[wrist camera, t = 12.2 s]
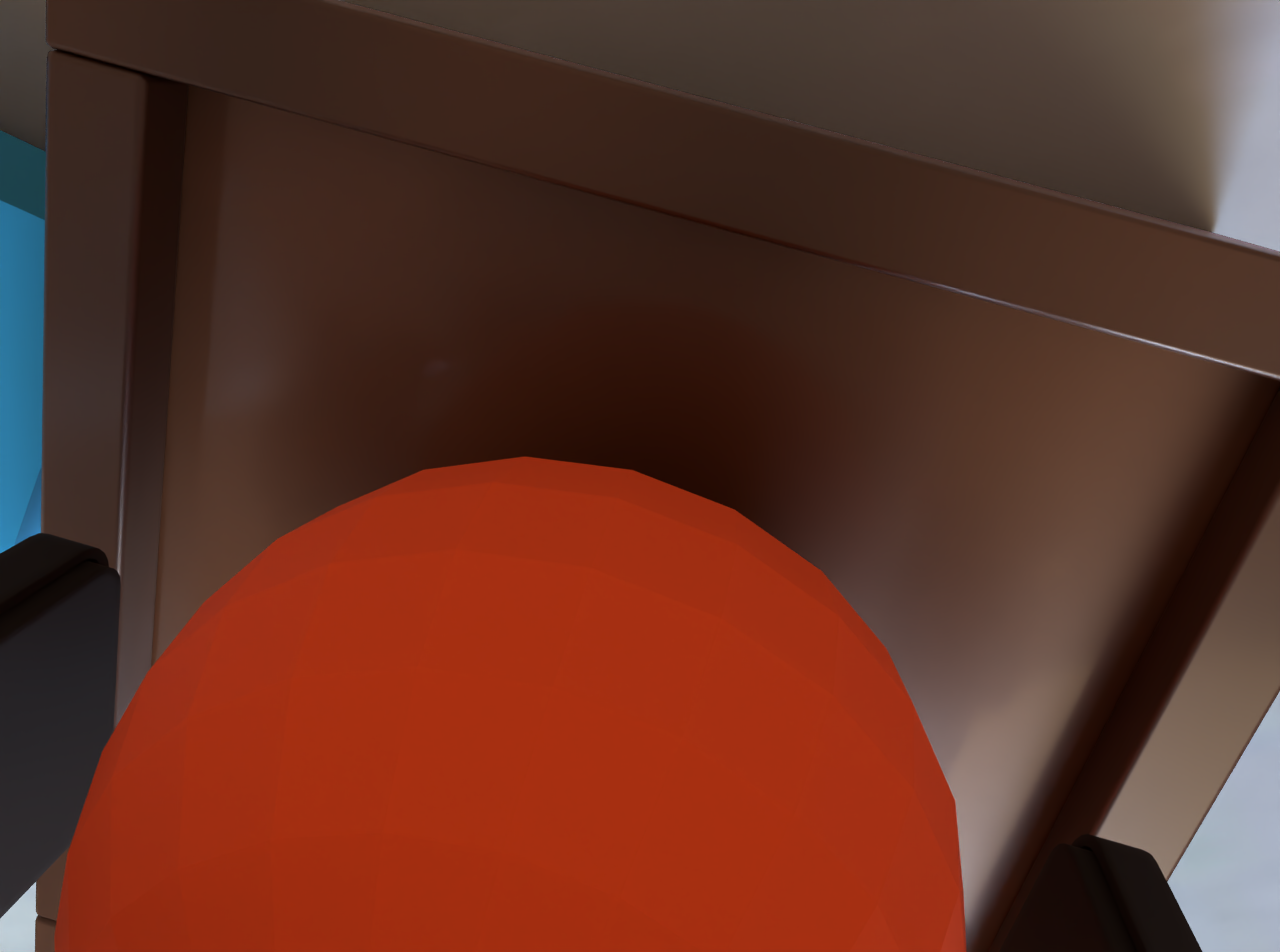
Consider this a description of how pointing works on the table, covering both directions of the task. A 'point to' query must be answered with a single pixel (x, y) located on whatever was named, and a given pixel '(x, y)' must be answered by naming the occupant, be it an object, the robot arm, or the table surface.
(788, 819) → the clementine
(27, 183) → the lever
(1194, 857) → the table surface
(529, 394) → the tray
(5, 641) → the robot arm
